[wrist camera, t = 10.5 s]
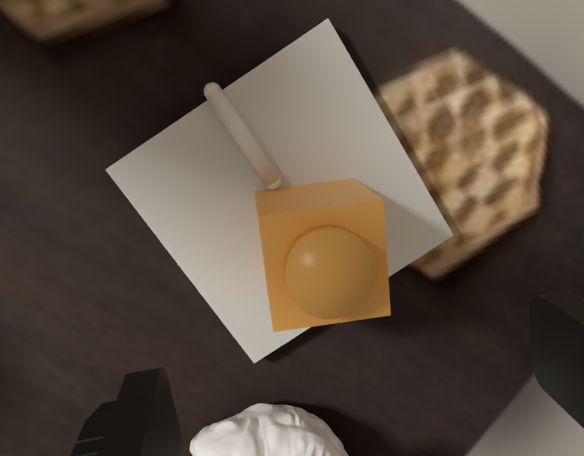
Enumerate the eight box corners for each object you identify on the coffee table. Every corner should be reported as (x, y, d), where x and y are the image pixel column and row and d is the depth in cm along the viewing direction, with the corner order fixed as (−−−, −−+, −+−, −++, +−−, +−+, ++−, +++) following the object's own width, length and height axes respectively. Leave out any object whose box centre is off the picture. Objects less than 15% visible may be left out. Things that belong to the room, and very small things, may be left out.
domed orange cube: (254, 190, 29) (259, 222, 22) (354, 178, 29) (391, 205, 22) (266, 286, 30) (275, 344, 23) (361, 272, 30) (398, 326, 24)
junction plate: (103, 156, 28) (71, 171, 23) (317, 10, 28) (337, -10, 22) (253, 353, 32) (256, 406, 27) (445, 230, 32) (488, 258, 26)
